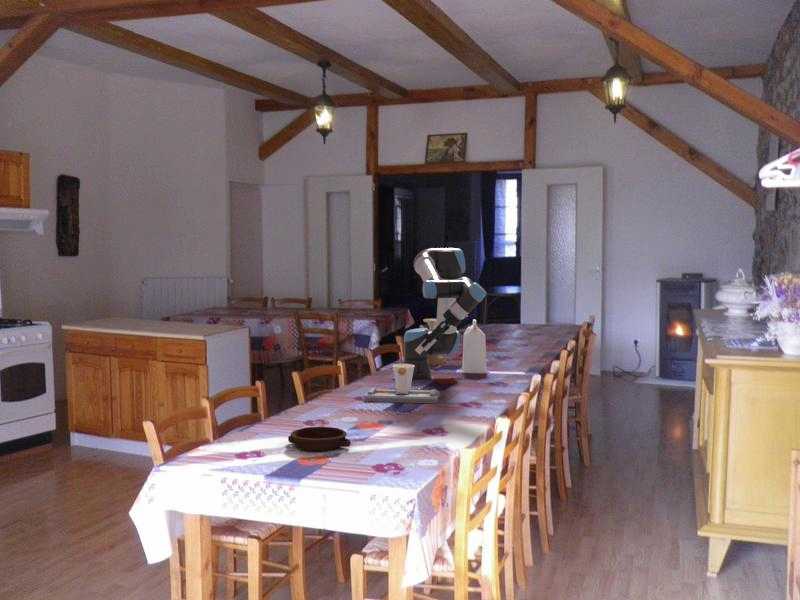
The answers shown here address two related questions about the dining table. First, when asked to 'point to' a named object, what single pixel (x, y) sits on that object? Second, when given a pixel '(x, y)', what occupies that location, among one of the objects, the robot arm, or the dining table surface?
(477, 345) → the milk
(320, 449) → the dish
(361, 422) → the dining table surface
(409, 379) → the cup
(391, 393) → the switch panel
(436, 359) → the candle holder
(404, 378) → the lever
